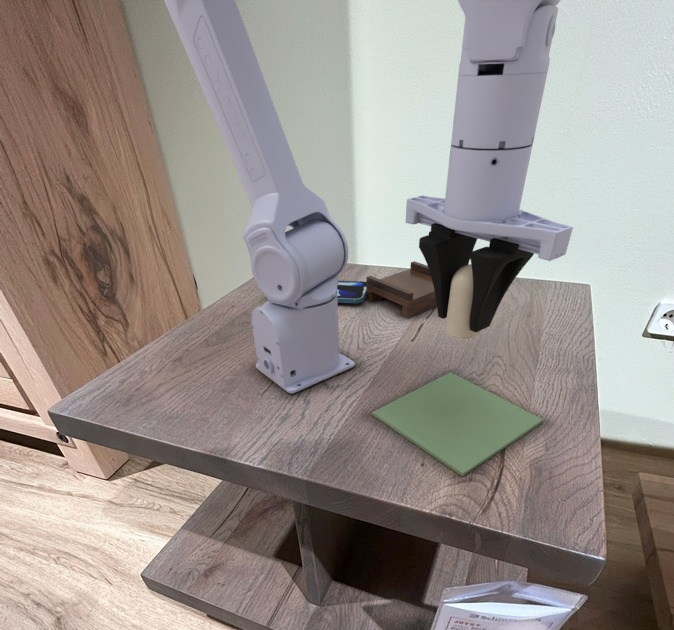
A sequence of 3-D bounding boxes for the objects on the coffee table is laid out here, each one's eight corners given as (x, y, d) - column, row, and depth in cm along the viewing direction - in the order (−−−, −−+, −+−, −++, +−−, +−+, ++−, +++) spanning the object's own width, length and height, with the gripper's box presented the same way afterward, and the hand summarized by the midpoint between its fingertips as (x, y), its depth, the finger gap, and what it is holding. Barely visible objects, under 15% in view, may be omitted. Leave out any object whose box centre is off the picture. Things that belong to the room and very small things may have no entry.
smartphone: (283, 278, 75) (371, 281, 72) (284, 283, 76) (371, 287, 73) (267, 295, 70) (361, 299, 67) (268, 301, 71) (361, 305, 67)
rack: (407, 318, 64) (409, 294, 62) (366, 299, 70) (366, 276, 67) (455, 299, 69) (458, 275, 66) (412, 283, 74) (414, 260, 72)
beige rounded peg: (464, 342, 41) (475, 274, 37) (437, 330, 43) (445, 265, 39) (487, 331, 42) (500, 265, 38) (460, 320, 44) (470, 256, 40)
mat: (462, 476, 40) (462, 473, 39) (371, 415, 47) (372, 412, 47) (542, 422, 45) (543, 419, 45) (450, 374, 52) (450, 371, 52)
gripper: (618, 146, 30) (560, 334, 39) (451, 131, 39) (434, 287, 48) (558, 160, 27) (510, 362, 36) (391, 141, 36) (385, 306, 45)
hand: (463, 321), depth 42 cm, fingers closed on beige rounded peg, 3 cm apart
